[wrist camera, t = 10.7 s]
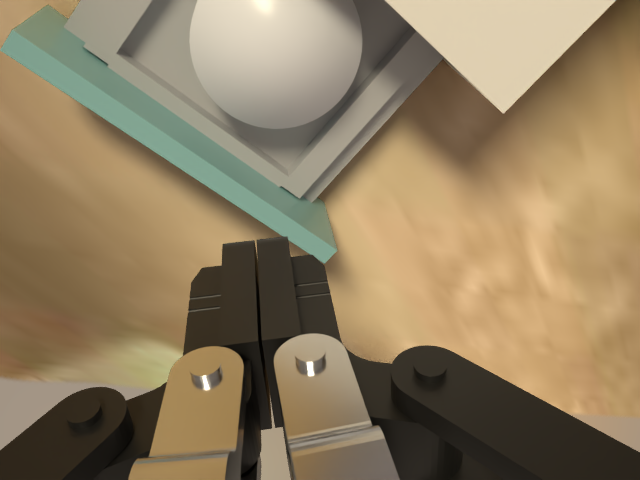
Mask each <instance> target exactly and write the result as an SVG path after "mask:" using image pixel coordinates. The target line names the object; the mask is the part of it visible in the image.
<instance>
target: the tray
mask: <svg viewBox="0 0 640 480" xmlns="http://www.w3.org/2000/svg"><path fill="white" fill-rule="evenodd" d="M353 2H354V4H355V6H356V9H357V12H358V15H359V18H360V23H361V28H362V53H361V59H360V64H359V67H358V70H357V73H356V75H355V78H354V80H353V82H352V84H351V86H350V87H349V89H348V91H347V92H346V94H345V95H344V96H343V97H342V99H341V100H340V101H339V102H338V103H337V104H336V105H335V106H334V107H333V108H332V109H330V110H329V111H328V112H327V113H325V114H324V115H322V116H321V117H319V118H317V119H315V120H313V121H311V122H309V123H306V124H304V125H300V126H297V127H292V128H285V129H269V128H261V127H257V126H253V125H250V124H247V123H244V122H242V121H240V120H238V119H236V118H234V117H232V116H231V115H229V114H228V113H227V112H225V111H224V110H223V109H221V108H220V107H219V106H218V105H217V104H216V103H215V102H214V101H213V100H212V99H211V97H210V96H209V95H208V94H207V92H206V91H205V89H204V88H203V86H202V85H201V83H200V81H199V79H198V77H197V75H196V72H195V69H194V66H193V63H192V58H191V54H190V43H189V39H190V26H191V20H192V16H193V13H194V9H195V6H196V3H197V0H80V2H79V3H78V5H77V7H76V8H75V10H74V11H73V13H72V15H71V16H70V18H69V19H67V18H66V17H65V16H63V15H62V14H60V13H59V12H58V11H56V10H55V9H53V8H52V7H51V6H49V5H47V6H45V7H44V8H42V9H41V10H40V11H38V12H37V13H35V14H34V15H33V16H31V17H30V18H28V19H27V20H25V21H24V22H23V23H21V24H20V25H18V26H17V27H16V28H14V29H13V30H12V31H11V33H10V35H9V36H8V38H7V40H6V41H5V43H4V45H3V46H2V48H1V50H0V51H2V52H3V53H5V54H6V55H8V56H10V57H11V58H13V59H14V60H16V61H17V62H19V63H20V64H22V65H23V66H25V67H26V68H28V69H29V70H31V71H32V72H34V73H35V74H37V75H38V76H40V77H41V78H43V79H44V80H46V81H48V82H49V83H51V84H52V85H54V86H55V87H57V88H58V89H60V90H61V91H63V92H64V93H66V94H67V95H69V96H70V97H72V98H73V99H75V100H76V101H78V102H79V103H81V104H82V105H84V106H86V107H87V108H89V109H90V110H92V111H93V112H95V113H96V114H98V115H99V116H101V117H102V118H104V119H105V120H107V121H108V122H110V123H111V124H113V125H114V126H116V127H117V128H119V129H120V130H122V131H124V132H125V133H127V134H128V135H130V136H131V137H133V138H134V139H136V140H137V141H139V142H140V143H142V144H143V145H145V146H146V147H148V148H149V149H151V150H152V151H154V152H155V153H157V154H158V155H160V156H162V157H163V158H165V159H166V160H168V161H169V162H171V163H172V164H174V165H175V166H177V167H178V168H180V169H181V170H183V171H184V172H186V173H187V174H189V175H190V176H192V177H193V178H195V179H196V180H198V181H199V182H201V183H203V184H204V185H206V186H207V187H209V188H210V189H212V190H213V191H215V192H216V193H218V194H219V195H221V196H222V197H224V198H225V199H227V200H228V201H230V202H231V203H233V204H234V205H236V206H237V207H239V208H241V209H242V210H244V211H245V212H247V213H248V214H250V215H251V216H253V217H254V218H256V219H257V220H259V221H260V222H262V223H263V224H265V225H266V226H268V227H269V228H271V229H272V230H274V231H275V232H277V233H279V234H280V235H282V236H283V237H286V236H288V240H289V241H291V242H292V243H294V244H295V245H297V246H298V247H300V248H301V249H303V250H304V251H306V252H307V253H309V254H310V255H313V256H314V257H315V258H317V259H318V260H320V261H321V262H323V263H324V264H325V263H326V262H327V261H328V260H329V259H330V258H331V256H332V255H333V254H334V253H335V252H336V251H337V247H336V244H335V240H334V236H333V233H332V229H331V226H330V222H329V218H328V215H327V211H326V208H325V204H324V202H323V201H322V200H320V199H319V198H317V197H318V196H319V195H320V193H321V192H322V191H323V190H324V189H325V188H326V187H327V186H328V185H329V184H330V183H331V181H332V180H333V179H334V178H335V177H336V176H337V175H338V174H339V173H340V172H341V170H342V169H343V168H344V167H345V166H346V165H347V164H348V163H349V162H350V161H351V159H352V158H353V157H354V156H355V155H356V154H357V153H358V152H359V151H360V150H361V148H362V147H363V146H364V145H365V144H366V143H367V142H368V141H369V140H370V139H371V137H372V136H373V135H374V134H375V133H376V132H377V131H378V130H379V129H380V128H381V126H382V125H383V124H384V123H385V122H386V121H387V120H388V119H389V118H390V117H391V116H392V114H393V113H394V112H395V111H396V110H397V109H398V108H399V107H400V106H401V105H402V103H403V102H404V101H405V100H406V99H407V98H408V97H409V96H410V95H411V94H412V92H413V91H414V90H415V89H416V88H417V87H418V86H419V85H420V84H421V83H422V81H423V80H424V79H425V78H426V77H427V76H428V75H429V74H430V73H431V72H432V70H433V69H434V68H435V67H436V66H437V65H438V64H439V63H440V62H441V61H442V59H443V58H444V57H443V56H442V55H441V54H440V53H439V52H438V51H437V50H436V49H435V48H434V47H433V46H432V45H431V44H430V43H428V42H427V41H426V40H425V39H424V38H423V37H422V36H421V35H420V34H419V33H418V32H417V31H416V30H415V29H414V28H413V27H412V26H411V25H410V24H409V23H408V22H407V21H406V20H404V19H403V18H402V17H401V16H400V15H399V14H398V13H397V12H396V11H395V10H394V9H393V8H392V7H391V6H390V5H389V4H388V3H387V2H386V1H385V0H353Z"/></svg>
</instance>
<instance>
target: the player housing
mask: <svg viewBox="0 0 640 480" xmlns="http://www.w3.org/2000/svg"><path fill="white" fill-rule="evenodd" d="M385 1H386V2H387V3H388V4H389V5H390V6H391V7H392V8H393V9H394V10H395V11H396V12H397V13H398V14H399V15H400V16H401V17H402V18H403V19H404V20H406V21H407V22H408V23H409V24H410V25H411V26H412V27H413V28H414V29H415V30H416V31H417V32H418V33H419V34H420V35H421V36H422V37H423V38H424V39H425V40H426V41H427V42H428V43H430V44H431V45H432V46H433V47H434V48H435V49H436V50H437V51H438V52H439V53H440V54H441V55H442V56H443V57H444V58H443V60H444V61H445V62H446V63H447V64H448V65H449V66H450V67H451V68H452V69H453V70H455V71H456V72H457V73H458V74H459V75H460V76H461V77H462V78H464V79H465V80H466V81H467V82H468V83H469V84H470V85H471V86H473V87H474V88H475V89H476V90H477V91H478V92H479V93H480V94H482V95H483V96H484V97H485V98H486V99H487V100H488V101H489V102H491V103H492V104H493V105H494V106H495V107H496V108H497V109H498V110H500V111H501V112H502V113H503V114H504V113H505V112H506V111H507V110H508V109H509V108H510V107H511V106H512V105H513V104H514V103H515V102H516V101H517V100H518V99H519V98H520V97H521V96H522V95H523V94H524V93H525V92H526V91H527V90H528V89H529V88H530V87H531V86H532V84H533V83H534V82H535V81H536V80H537V79H538V78H539V77H540V76H541V75H542V74H543V73H544V72H545V71H546V70H547V69H548V68H549V67H550V66H551V65H552V64H553V63H554V62H555V61H556V60H557V59H558V58H559V57H560V56H561V55H562V54H563V53H564V52H565V51H566V50H567V49H568V48H569V47H570V46H571V45H572V44H573V43H574V42H575V41H576V40H577V39H578V38H579V37H580V36H581V35H582V34H583V33H584V32H585V31H586V30H587V29H588V28H589V27H590V26H591V25H592V24H593V23H594V22H595V21H596V20H597V19H598V18H599V17H600V16H601V15H602V14H603V13H604V12H605V11H606V10H607V9H608V8H609V7H610V6H611V5H612V4H613V3H614V2H615V1H616V0H385Z"/></svg>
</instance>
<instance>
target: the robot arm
mask: <svg viewBox="0 0 640 480" xmlns="http://www.w3.org/2000/svg"><path fill="white" fill-rule="evenodd" d="M257 256H258V260H257ZM188 310H189V313H188V317H187V326H186V335H185V344H184V352H183V357H181V358H180V359H179V360H178V361H177V362H176V363H175V364H174V365H173V367H172V368H171V370H170V373H169V376H168V380H167V382H166V383H165V384H163V385H162V386H160V387H158V388H156V389H155V390H152V391H150V392H148V393H145V394H143V395H140V396H137V397H135V398H132V399H129V400H127V401H126V400H125V399H124V397H123V395H122V394H121V393H120V392H118V391H116V390H114V389H111V388H107V387H95V388H88V389H84V390H81V391H79V392H76V393H74V394H72V395H70V396H68V397H67V398H65V399H64V400H62V401H61V402H59V403H58V404H57V405H56V406H54V407H53V408H52V409H51V410H50V411H48V412H47V413H46V414H45V415H43V416H42V417H41V418H40V419H38V420H37V421H36V422H35V423H34V424H32V425H31V426H30V427H29V428H27V429H26V430H25V431H24V432H23V433H21V434H20V435H19V436H18V437H16V438H15V439H14V440H13V441H11V442H10V443H9V444H8V445H6V446H5V447H4V448H3V449H2V450H0V480H261V479H260V478H261V459H260V452H261V430H264V429H271V428H272V421H271V405H270V397H271V403H272V410H273V416H274V423H275V428H277V427H283V431H284V438H285V444H286V452H287V459H288V465H289V471H290V477H291V480H640V452H638V451H636V450H634V449H632V448H630V447H629V446H627V445H625V444H623V443H621V442H619V441H617V440H615V439H614V438H611V437H610V436H608V435H606V434H604V433H602V432H601V431H598V430H597V429H595V428H593V427H591V426H589V425H588V424H586V423H584V422H582V421H580V420H578V419H576V418H575V417H573V416H571V415H569V414H567V413H565V412H563V411H562V410H560V409H558V408H556V407H554V406H552V405H550V404H549V403H547V402H545V401H543V400H541V399H539V398H537V397H536V396H534V395H532V394H530V393H528V392H526V391H524V390H523V389H521V388H519V387H517V386H515V385H513V384H511V383H510V382H508V381H506V380H504V379H502V378H500V377H498V376H497V375H495V374H493V373H491V372H489V371H487V370H485V369H484V368H482V367H480V366H478V365H476V364H474V363H472V362H471V361H469V360H467V359H465V358H463V357H461V356H459V355H457V354H456V353H454V352H452V351H450V350H447V349H445V348H441V347H437V346H417V347H413V348H410V349H407V350H405V351H403V352H402V353H400V354H399V355H398V356H397V357H396V358H395V360H394V361H393V363H392V364H389V363H380V362H373V361H368V360H365V359H362V358H360V357H357V356H356V355H354V354H352V353H351V352H350V351H348V350H347V349H346V347H345V346H344V345H343V343H342V342H341V339H340V335H339V330H338V326H337V321H336V317H335V312H334V308H333V303H332V299H331V295H330V290H329V285H328V281H327V276H326V271H325V267H324V265H323V264H322V263H321V262H320V261H319V260H318V259H317V258H315V257H314V256H313V255H305V256H297V257H290V251H289V243H288V236H286V237H277V238H269V239H260V240H257V253H256V247H255V241H254V240H253V241H244V242H236V243H227V244H223V249H222V266H214V267H206V268H202V269H201V270H200V272H199V273H198V274H197V276H196V277H195V278H194V280H193V281H192V282H191V291H190V300H189V309H188Z"/></svg>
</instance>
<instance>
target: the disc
mask: <svg viewBox="0 0 640 480" xmlns="http://www.w3.org/2000/svg"><path fill="white" fill-rule="evenodd" d="M189 43H190V54H191V58H192V63H193V66H194V69H195V72H196V75H197V77H198V79H199V81H200V83H201V85H202V86H203V88H204V89H205V91H206V92H207V94H208V95H209V96H210V97H211V99H212V100H213V101H214V102H215V103H216V104H217V105H218V106H219V107H220V108H221V109H223V110H224V111H225V112H227V113H228V114H229V115H231V116H232V117H234V118H236V119H238V120H240V121H242V122H244V123H247V124H250V125H253V126H257V127H261V128H269V129H285V128H292V127H297V126H300V125H304V124H306V123H309V122H311V121H313V120H315V119H317V118H319V117H321V116H322V115H324V114H325V113H327V112H328V111H329V110H330V109H332V108H333V107H334V106H335V105H336V104H337V103H338V102H339V101H340V100H341V99H342V97H343V96H344V95H345V94H346V92H347V91H348V89H349V87H350V86H351V84H352V82H353V80H354V78H355V75H356V73H357V70H358V67H359V64H360V59H361V53H362V28H361V23H360V18H359V15H358V12H357V9H356V6H355V4H354V2H353V0H197V3H196V6H195V9H194V13H193V16H192V20H191V26H190V39H189Z"/></svg>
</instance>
